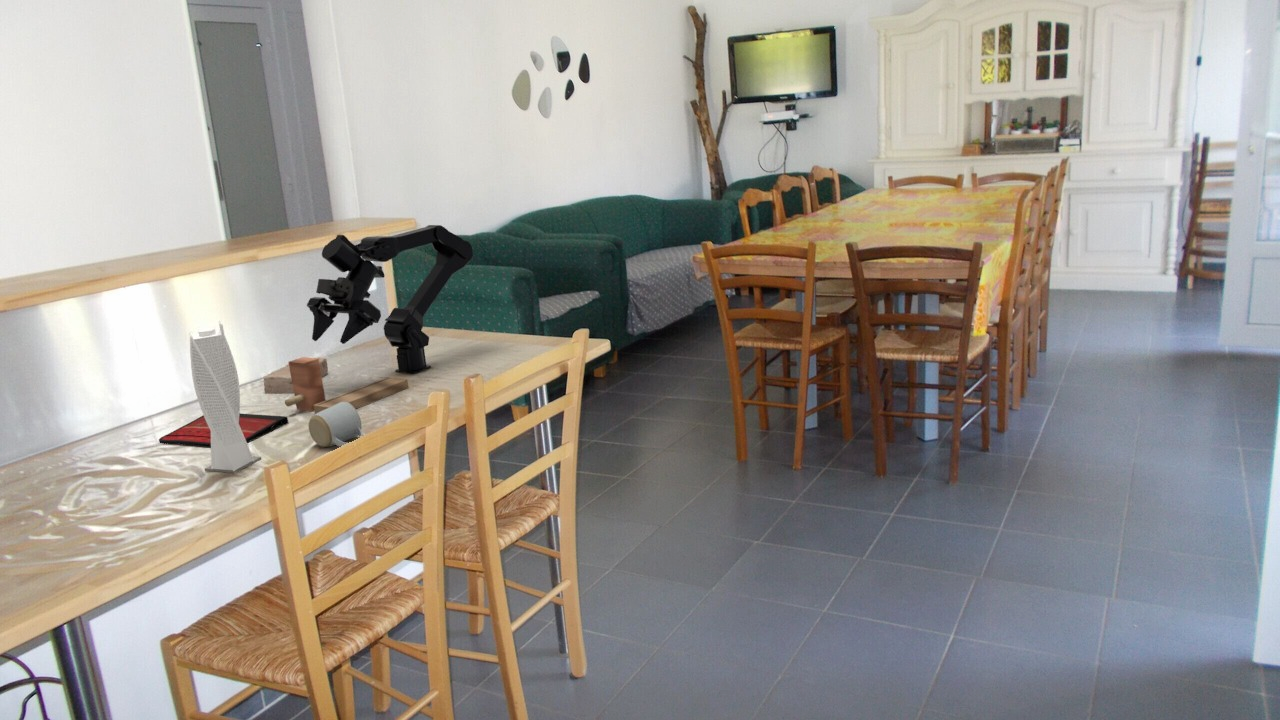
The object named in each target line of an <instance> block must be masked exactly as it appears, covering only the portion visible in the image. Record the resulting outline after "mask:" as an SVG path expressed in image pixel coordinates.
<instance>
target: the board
mask: <svg viewBox="0 0 1280 720" xmlns="http://www.w3.org/2000/svg"><path fill="white" fill-rule="evenodd" d="M408 388H409V382H408V379H406V378H398V377H390V376H389V377H388V376H387V377H384V378H382V379H378V380H376V381H373V382H370V383H368V384H366V385H363V386H360V387H357V388H355V389H352V390H349V391H346V392H344V393H341V394H339V395H337V396H333V397H331V398H328V399H325V400H326V401H323V402H320V403H318V404H315V405H313V406H314V411H313V412H314V415H315V414H316V413H318V412H320V411H323V410H325V409H327V408H330V407H332V406H334V405H336V404H338V403H340V402H348V403H350V404H351V405H352V406H353V407H354V408H355V409H356V410H357V409H359V408H361V407H362V408H363V407H365V406H366V405H369V404H371V403H374V402H376V401H378V400H381V399H383V398H386V397H389V396H392V395H393V394H396V393H399V392H401V391H403V390H406V389H408Z"/></svg>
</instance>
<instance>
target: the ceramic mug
mask: <svg viewBox="0 0 1280 720" xmlns="http://www.w3.org/2000/svg"><path fill="white" fill-rule="evenodd" d="M361 419H362V418H361V416H360V414H359V413H358V411H357V409H355V408H354V407H353V406H352V405H351V404H350V403H348V402H340V403H338V404H336V405H334V406H332V407H330V408H327V409H325V410H323V411H320V412H318V413H316V414H315V413H314V415H312V416H311V417H310V419H309V420H308V432H309V435H310V436H311V438H312V440H313V441H314V443H315V444H317V445H318V446H320V447H322V448H328V447H329V448H330V447H332V446H335V445H336V446H337V447H339V448H341V447H340V446H342V445H344V444H346V443H348V442H345V441H349V440H351V439H354V438H356V437H358V436H359V437H360V436H363V437H364V433H363V431H362V426H363V425H362V420H361Z"/></svg>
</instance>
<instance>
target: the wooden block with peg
mask: <svg viewBox="0 0 1280 720" xmlns="http://www.w3.org/2000/svg"><path fill="white" fill-rule="evenodd" d="M317 358H318V357H307V356H302V357H299V358H295V359H293V360H290V361H288V364H289V367H290V373H291V379H292V384H293V390H294V393H293V395H294V396H292V397H289V398H287V399H285V401H284V404H285V406H286V407H291V406H293V405H296V410H299V411H306V412H312V413H313V412H314V406H313V405H315V404H318V403H320V402H323V401H326V400H327V399H326V395H325V390H324V384H323V377H322V376H321V370H320V365H319V359H317Z"/></svg>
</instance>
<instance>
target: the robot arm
mask: <svg viewBox="0 0 1280 720" xmlns="http://www.w3.org/2000/svg"><path fill="white" fill-rule="evenodd" d="M428 244H430V245H431V247H432V249H433V250H434V251H435V252H436V254H435V264H434V266H433V267H432V269H431V270H430V271H429V273H428V275H427V276H426V277H425V279H424V280H423V281H422V283H421V284H420V286H419V287H418V289H417V290H416V292H415V293H414V295H412V297H411V298H410V300H409V301H408V303H407V304H406V306H405V307H403V308H402V307H401V308H399V307H394V308H392V311H391V313H390V314H389V315H388V316H387V317H386V318H385V319H384V321H385V323H384V325H383V333H384V337H385V338H386V340H388V341H389V344H390V345H391V347H392V348H393V347H394V348H395V347H396V354H397V355H396V361H397V362H396V363H397V367H398V368H397V369H394V373H401V374H411V375H414V374H417V373H420V372H423V371H425V370H428V369H430V368H432V365H431V364H427V361H426V353H425V347H427V346H429V344H430V343H429V341H430V336H428V335H427V334H426V333H425V332H423V331H422V330H423V327H424V326H423V325H424V316H425V315H426V313H427V312H428V311H429V309H430V307H431V306H432V305H433V304H434V302H435V300H436V299H437V297H438V296H439V294H441V292H442V290H443V289H444V287H445V286H446V285H447V283H448V281H449V280H450V279H451V277H452V276H453V275H454V274H456V273H457V272H458V271H460V270H462V269H464V268H465V267H466V266H467V265H468V264H469V263H470V261H471V260H473V256H474V252H473V251H474V250H473V246H472V244H471V243H470V241H469V240H465V239H463V238H462V237H461V236H458V235H456V234H454V233H453V232H451V231H449V230H448V228H446V227H444V226H442V225H441V224H440V225H439V224H428V225H427V226H425V227H421V228H416V229H412V230H409V231H406V232H402V233H398V234H394V235H381V236H380V235H379V236H366V237H363V238H362V239H361V240H360V243H357V244H354V243H352V242H351V241H350V240H349V238H348V237H347V236H345V234H337V235H336V237H335V238H334V239H332V240H330V241H329V242H328V243H327V244H326V245H324V247H323V248H322V252H321V257H322V258H323V259H324V260H326V261H327V262H328V263H329V264H331V265H332V266H333V267H334V268H335V269H337V271H339V272H341V273H346V272H348V273H347V274H346V277H342V276H340V277H339V276H338V277H337V279H329V278H328V279H327V278H324V279H323V278H319V279H318V281H317V286H316V287H317V288H316V293H317V294H318V295H319V294H323V295H326V296H328V297H327V298H328V299H329V300H328V299H327V298H325V297H321V296H314V297H310V298H309V299H308V301H307V303H306V307H307V308H308V309H309V311H310V312H312V315H313V327H312V336H311V340H312V341H314V342H317V341H318V340H319V339H320V338H321V337H322V336H323V335H324V334H325V333H326V331H327V330H328V329H329V328H330V327H331V326H332V324H333V323H334V322H335V320H334V319H335V318H336V317H337V315H338V314H347V315H348V321H347V323H346V325H345V327H344V330H343V332H342V334H341V338H340V341H339V342H340V343H341V344H343V345H345V344H346V343H347V342H348V341H350V340H351V339H352V338H354V337H355V336H357V335H358V334H359V333H361V332H362V331H364V330H365V329H367V328H369V327H371V326H373V325H374V324H378V323H379V322H380V319H381V318H382V314H381V313H382V312H381V310H380V309H379V308H377V306H375V305H374V304H373V303H372V302H371V301H370V300H366V299H370V296H371V294H372V293H369V290H370V288H371V286H372V283H373V282H374V280H375V278H376V279H381V278H385V272H384V271H383V267H382V266H381V265H376V264H375V263H376V262H380V263H385V262H388V261H389V262H390V261H391V260H392V259H394V258H396V257H398V256H399V255H400V254H401V253H402V252H404V251H408V250H411V249H414V248H418V247H419V248H420V247H421V246H425V245H428ZM373 262H375V263H373ZM330 301H331V302H330ZM332 302H333V303H332Z"/></svg>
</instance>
